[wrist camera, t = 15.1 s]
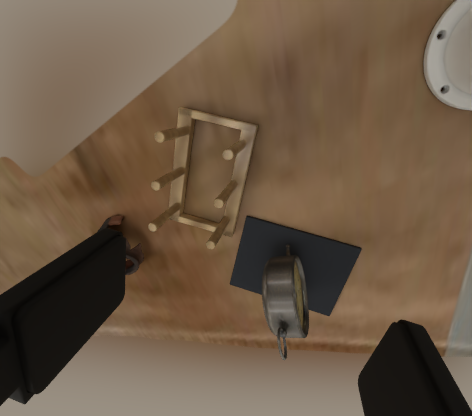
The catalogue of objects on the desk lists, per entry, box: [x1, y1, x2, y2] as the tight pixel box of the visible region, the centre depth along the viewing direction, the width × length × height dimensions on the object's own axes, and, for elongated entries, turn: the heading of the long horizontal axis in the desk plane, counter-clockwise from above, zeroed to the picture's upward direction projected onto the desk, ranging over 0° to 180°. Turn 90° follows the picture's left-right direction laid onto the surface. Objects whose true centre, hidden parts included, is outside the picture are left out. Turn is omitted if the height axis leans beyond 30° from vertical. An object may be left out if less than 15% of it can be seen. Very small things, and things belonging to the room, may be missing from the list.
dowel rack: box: [148, 107, 259, 249], centre depth 36 cm, size 11×18×10 cm, turn 169°
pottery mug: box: [98, 216, 144, 275], centre depth 47 cm, size 12×10×8 cm
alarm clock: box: [262, 244, 309, 360], centre depth 35 cm, size 11×5×16 cm, turn 16°
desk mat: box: [230, 216, 362, 316], centre depth 43 cm, size 18×14×1 cm
